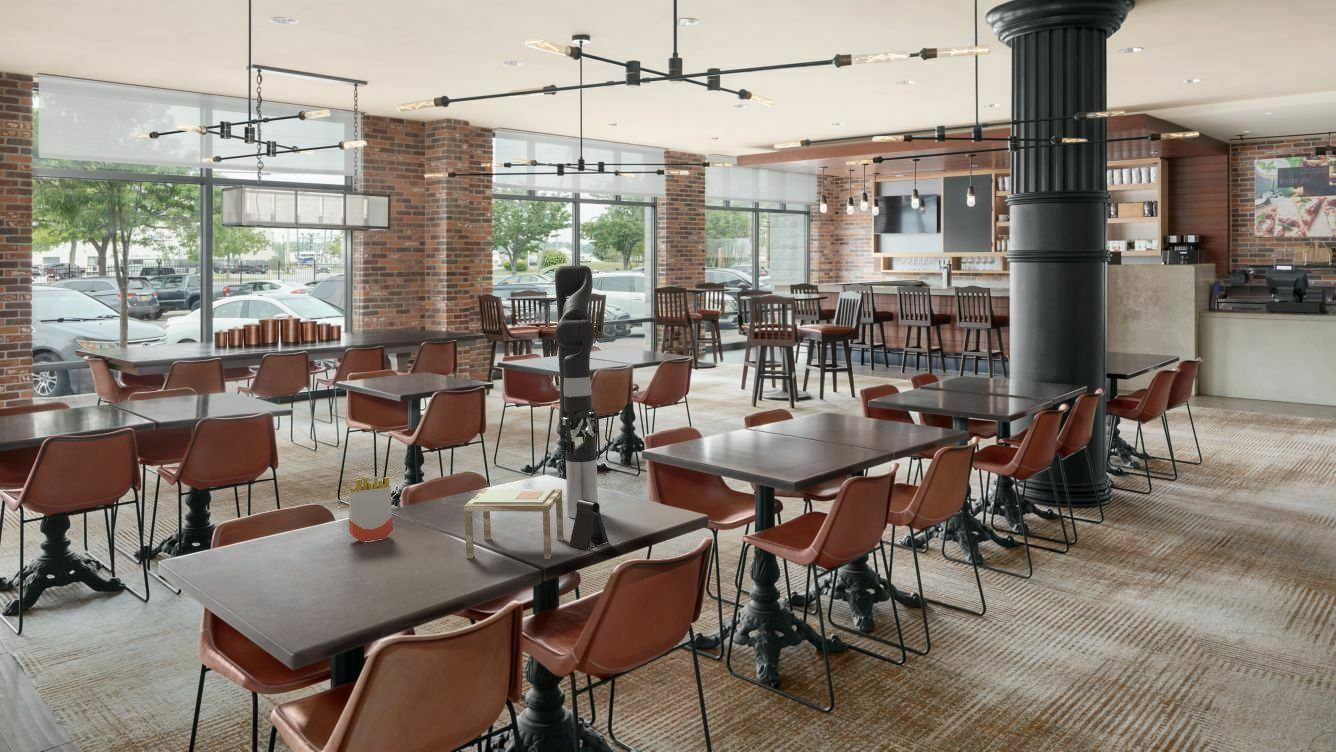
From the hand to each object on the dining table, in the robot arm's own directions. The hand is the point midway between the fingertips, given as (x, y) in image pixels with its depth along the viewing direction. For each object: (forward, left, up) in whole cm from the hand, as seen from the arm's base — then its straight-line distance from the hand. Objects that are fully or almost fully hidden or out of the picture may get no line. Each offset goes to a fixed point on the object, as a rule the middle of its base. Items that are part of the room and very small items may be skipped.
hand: (580, 452), depth 257 cm
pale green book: (+9, -16, -12) cm, 22 cm away
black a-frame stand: (+5, +3, -25) cm, 25 cm away
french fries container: (+2, -59, -25) cm, 64 cm away
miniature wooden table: (+9, -16, -24) cm, 31 cm away
